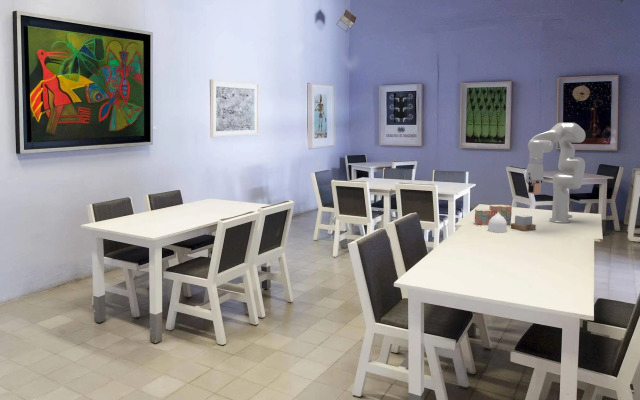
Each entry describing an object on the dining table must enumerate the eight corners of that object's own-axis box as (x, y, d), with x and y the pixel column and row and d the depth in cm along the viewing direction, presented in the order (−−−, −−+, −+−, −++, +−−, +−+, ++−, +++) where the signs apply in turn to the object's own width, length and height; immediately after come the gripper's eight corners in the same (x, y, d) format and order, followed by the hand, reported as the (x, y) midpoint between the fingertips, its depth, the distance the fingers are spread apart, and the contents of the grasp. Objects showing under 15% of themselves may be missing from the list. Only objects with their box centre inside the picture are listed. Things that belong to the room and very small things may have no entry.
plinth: (522, 226, 342) (522, 222, 342) (535, 229, 333) (535, 224, 333) (510, 228, 338) (511, 223, 337) (523, 231, 329) (523, 226, 328)
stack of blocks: (476, 225, 348) (477, 205, 346) (474, 223, 354) (475, 204, 352) (510, 225, 346) (511, 206, 344) (508, 223, 352) (509, 204, 351)
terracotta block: (533, 192, 332) (534, 182, 331) (540, 193, 328) (541, 183, 327) (527, 192, 330) (528, 183, 329) (534, 193, 325) (535, 183, 325)
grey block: (523, 222, 340) (523, 214, 339) (531, 224, 333) (532, 216, 333) (514, 223, 336) (515, 215, 336) (523, 225, 330) (524, 217, 329)
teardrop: (483, 230, 331) (484, 211, 329) (494, 228, 338) (495, 209, 336) (499, 233, 322) (500, 213, 321) (510, 231, 329) (511, 211, 327)
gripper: (540, 160, 333) (538, 190, 336) (520, 161, 325) (519, 192, 328) (551, 161, 327) (549, 191, 330) (531, 162, 319) (529, 193, 321)
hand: (534, 191), depth 329 cm, fingers closed on terracotta block, 5 cm apart
